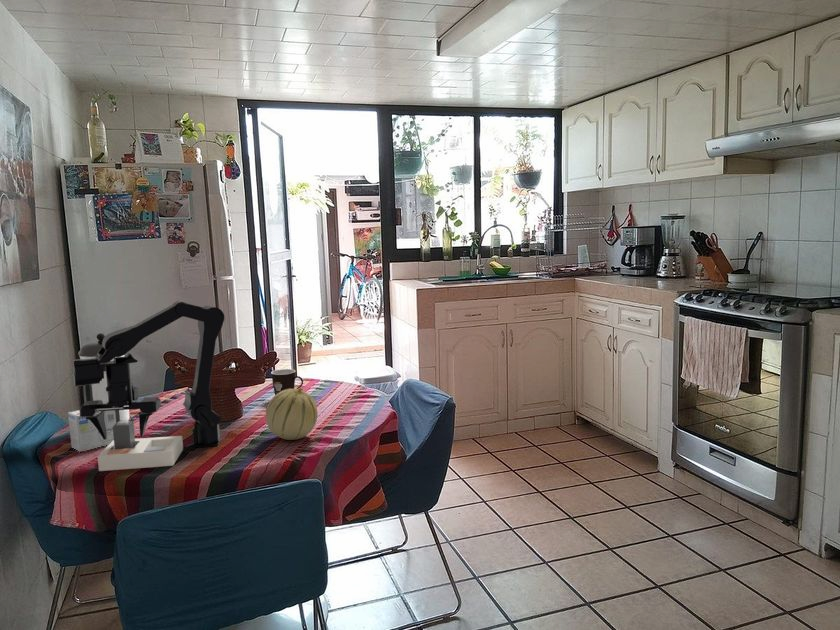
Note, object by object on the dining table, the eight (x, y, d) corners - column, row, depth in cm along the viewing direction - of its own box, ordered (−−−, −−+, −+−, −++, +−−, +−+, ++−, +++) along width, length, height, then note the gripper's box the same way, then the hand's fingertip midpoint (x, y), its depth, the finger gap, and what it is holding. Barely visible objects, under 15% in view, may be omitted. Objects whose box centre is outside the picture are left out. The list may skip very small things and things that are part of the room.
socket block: (183, 449, 171) (182, 434, 170) (173, 465, 159) (171, 449, 158) (114, 454, 168) (113, 439, 167) (98, 471, 156) (97, 454, 156)
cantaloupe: (264, 434, 183) (261, 385, 181) (313, 427, 188) (311, 379, 186) (270, 450, 169) (268, 397, 167) (323, 442, 174) (321, 391, 172)
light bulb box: (108, 438, 182) (105, 403, 180) (119, 442, 177) (116, 406, 176) (70, 448, 173) (66, 411, 172) (80, 453, 169) (76, 415, 168)
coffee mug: (268, 399, 221) (266, 372, 220) (288, 394, 227) (287, 368, 226) (284, 405, 213) (283, 377, 211) (305, 400, 218) (304, 373, 217)
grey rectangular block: (136, 456, 166) (133, 418, 165) (132, 461, 162) (128, 423, 161) (120, 457, 165) (117, 419, 164) (116, 463, 161) (112, 424, 160)
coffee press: (71, 429, 190) (61, 334, 186) (124, 417, 202) (116, 327, 198) (91, 442, 178) (81, 340, 174) (146, 428, 190) (138, 333, 186)
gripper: (163, 371, 170) (168, 426, 172) (91, 375, 167) (97, 430, 169) (153, 381, 159) (157, 439, 161) (76, 385, 156) (81, 444, 158)
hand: (123, 437), depth 163 cm, fingers open, 9 cm apart
